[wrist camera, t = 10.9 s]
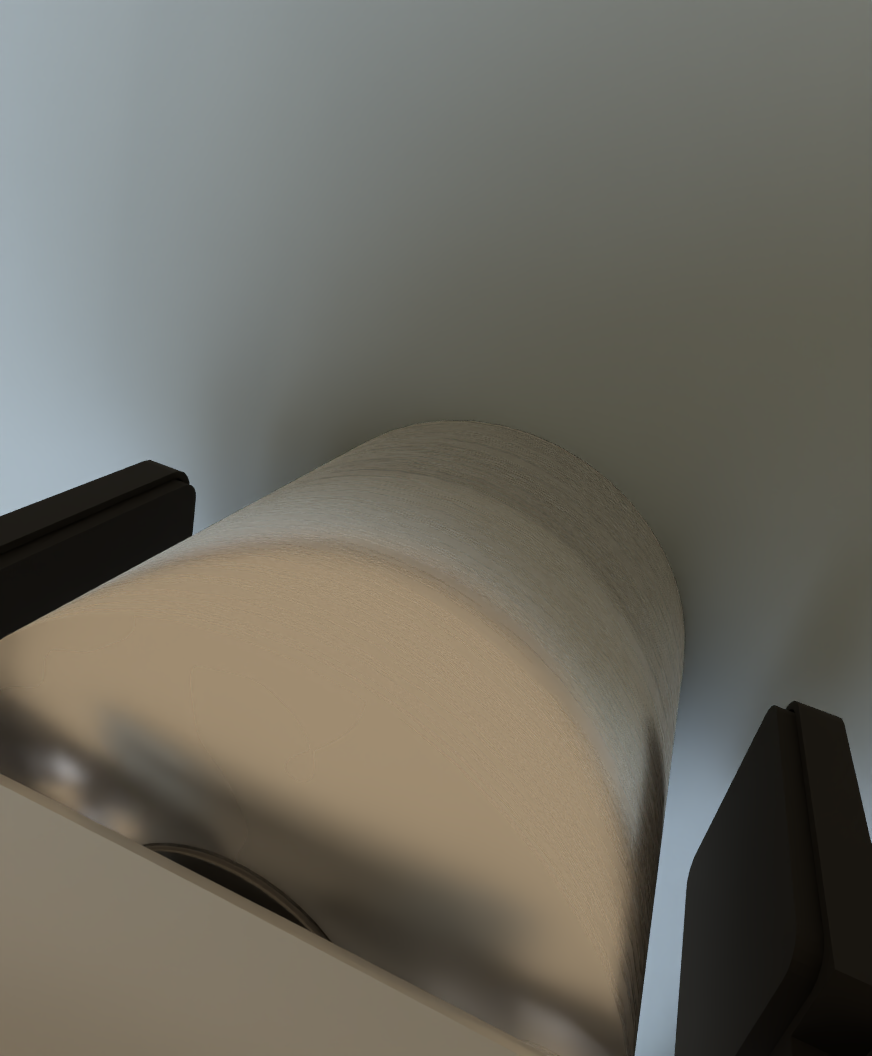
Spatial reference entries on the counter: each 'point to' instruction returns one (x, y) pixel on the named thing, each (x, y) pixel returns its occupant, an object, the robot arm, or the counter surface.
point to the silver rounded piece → (394, 719)
